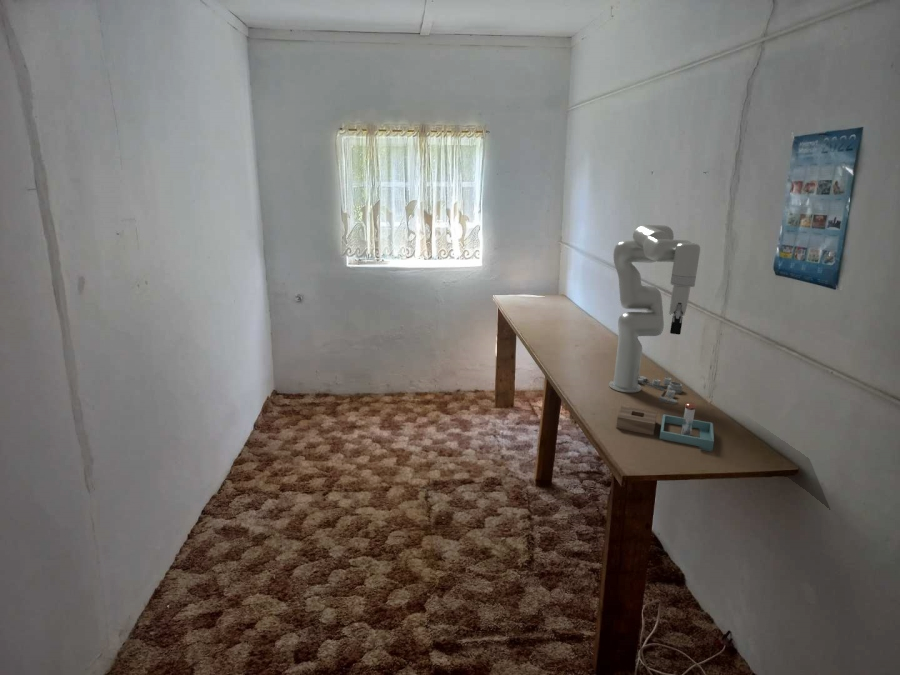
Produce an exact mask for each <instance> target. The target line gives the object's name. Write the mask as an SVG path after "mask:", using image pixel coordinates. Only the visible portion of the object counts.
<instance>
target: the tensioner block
mask: <svg viewBox="0 0 900 675" xmlns="http://www.w3.org/2000/svg"><path fill="white" fill-rule="evenodd" d="M657 416H658V411H657V410H653V409H648V408H647V409H646V408H643V407H641V408H640V407H637V406H636V407H635V406H629V405H624V404H621V406H620V409H619V412H618V415H617V419H616V426H615V428H616V429H619V430H625V431H631V432H635V433H640V434H646V435H650V436H655V435H654V434H655V429H656V424H657V423H656V422H657Z"/></svg>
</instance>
